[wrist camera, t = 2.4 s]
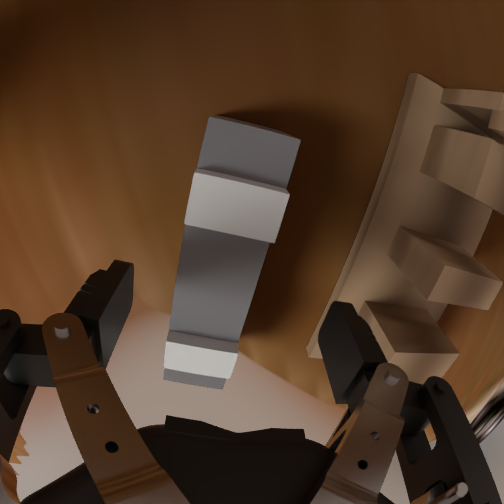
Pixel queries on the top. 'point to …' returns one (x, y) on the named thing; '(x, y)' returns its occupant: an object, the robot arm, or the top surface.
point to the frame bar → (225, 245)
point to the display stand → (427, 225)
